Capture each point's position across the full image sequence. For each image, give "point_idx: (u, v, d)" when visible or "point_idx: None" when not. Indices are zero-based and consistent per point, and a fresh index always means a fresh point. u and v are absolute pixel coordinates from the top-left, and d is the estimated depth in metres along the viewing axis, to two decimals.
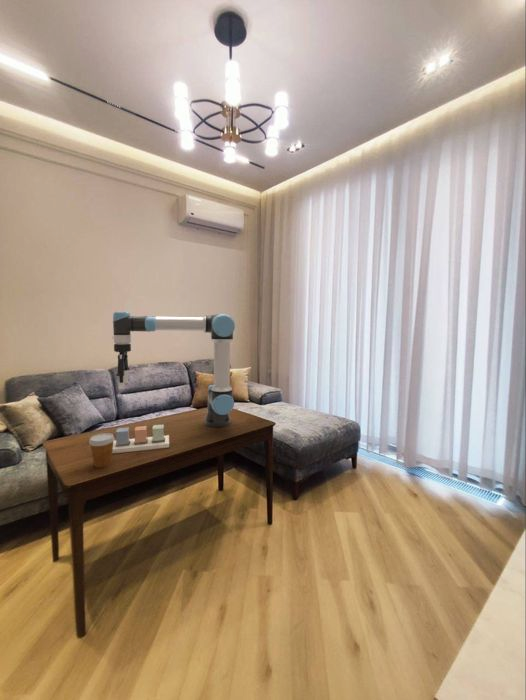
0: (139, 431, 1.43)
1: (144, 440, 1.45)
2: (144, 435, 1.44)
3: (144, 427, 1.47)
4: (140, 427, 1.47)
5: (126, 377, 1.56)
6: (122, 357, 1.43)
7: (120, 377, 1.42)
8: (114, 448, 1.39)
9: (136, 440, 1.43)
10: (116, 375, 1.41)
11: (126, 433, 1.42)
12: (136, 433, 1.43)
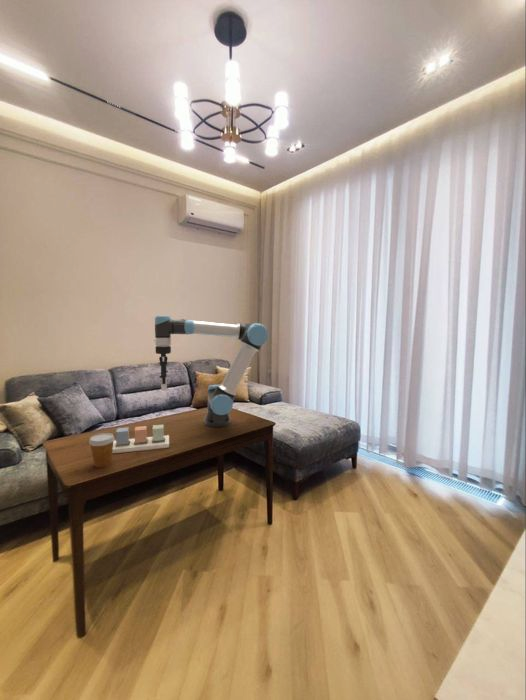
0: (139, 431, 1.43)
1: (144, 440, 1.45)
2: (144, 435, 1.44)
3: (144, 427, 1.47)
4: (140, 427, 1.47)
5: None
6: (164, 359, 1.50)
7: (163, 379, 1.50)
8: (114, 448, 1.39)
9: (136, 440, 1.43)
10: None
11: (126, 433, 1.42)
12: (136, 433, 1.43)
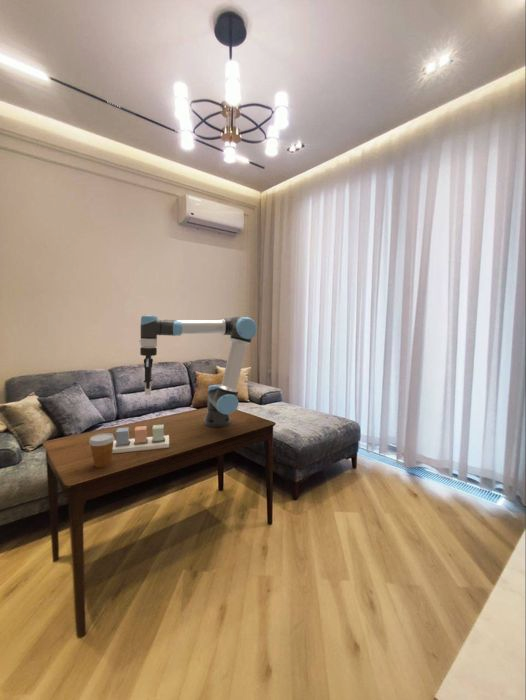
0: (139, 431, 1.43)
1: (144, 440, 1.45)
2: (144, 435, 1.44)
3: (144, 427, 1.47)
4: (140, 427, 1.47)
5: None
6: (148, 366, 1.43)
7: (147, 383, 1.47)
8: (114, 448, 1.39)
9: (136, 440, 1.43)
10: None
11: (126, 433, 1.42)
12: (136, 433, 1.43)
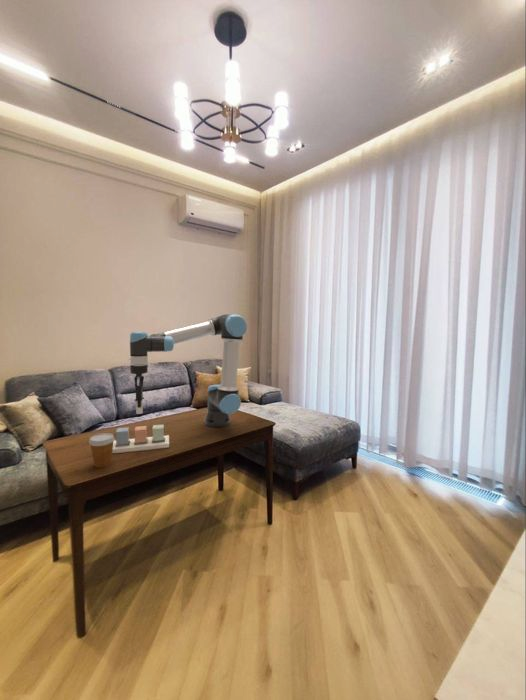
0: (139, 431, 1.43)
1: (144, 440, 1.45)
2: (144, 435, 1.44)
3: (144, 427, 1.47)
4: (140, 427, 1.47)
5: None
6: (139, 384, 1.38)
7: (138, 402, 1.42)
8: (114, 448, 1.39)
9: (136, 440, 1.43)
10: None
11: (126, 433, 1.42)
12: (136, 433, 1.43)
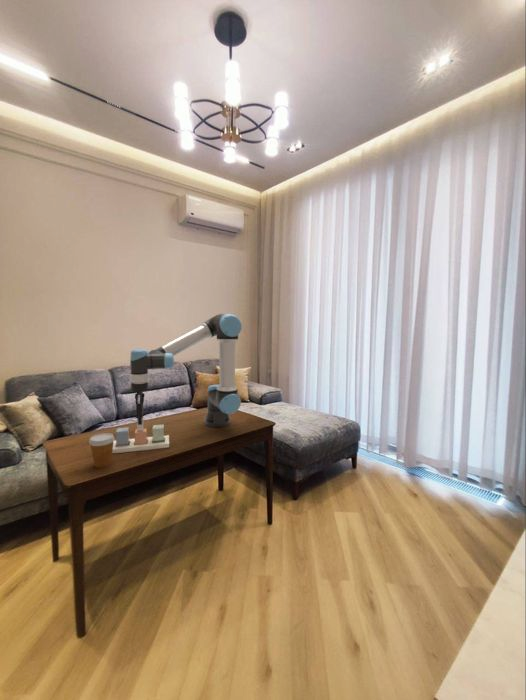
0: (139, 434, 1.44)
1: (144, 443, 1.45)
2: (144, 438, 1.44)
3: (144, 429, 1.47)
4: None
5: None
6: (140, 402, 1.39)
7: (139, 419, 1.43)
8: (114, 448, 1.39)
9: (136, 443, 1.44)
10: None
11: (126, 433, 1.42)
12: (136, 436, 1.43)
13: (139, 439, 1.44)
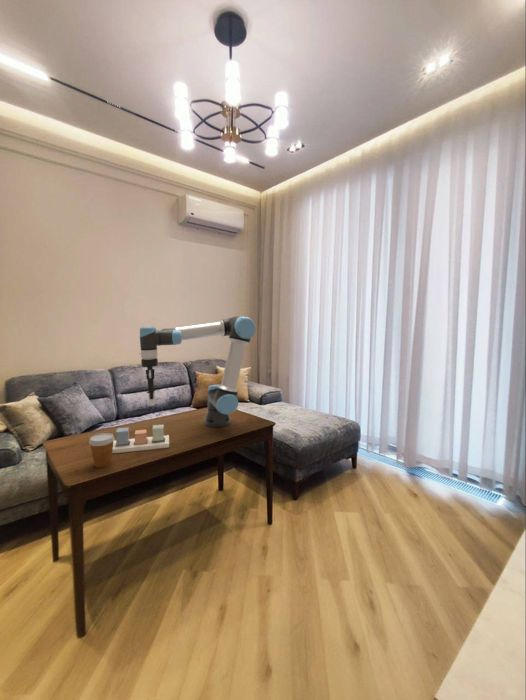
0: (139, 435, 1.44)
1: None
2: (144, 439, 1.45)
3: (144, 431, 1.47)
4: (140, 431, 1.47)
5: None
6: (151, 377, 1.44)
7: (150, 394, 1.48)
8: (114, 448, 1.39)
9: (136, 444, 1.44)
10: None
11: (126, 433, 1.42)
12: (136, 437, 1.43)
13: (139, 440, 1.44)
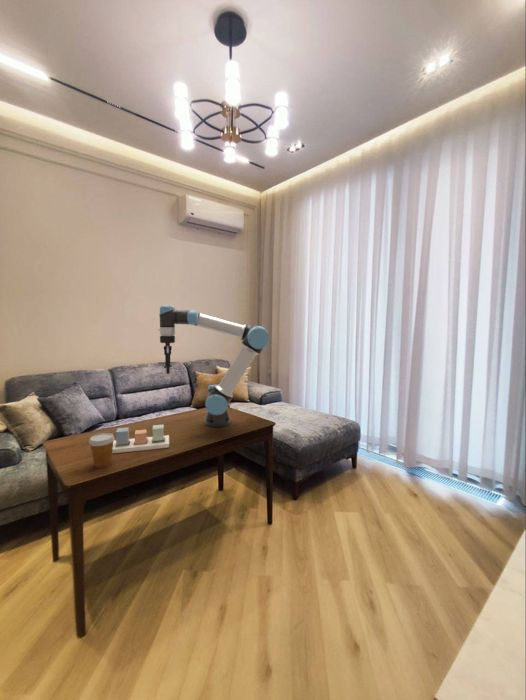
0: (139, 435, 1.44)
1: None
2: (144, 439, 1.45)
3: (144, 431, 1.47)
4: (140, 431, 1.47)
5: None
6: (169, 352, 1.55)
7: (167, 369, 1.59)
8: (114, 448, 1.39)
9: (136, 444, 1.44)
10: (164, 367, 1.59)
11: (126, 433, 1.42)
12: (136, 437, 1.43)
13: (139, 440, 1.44)
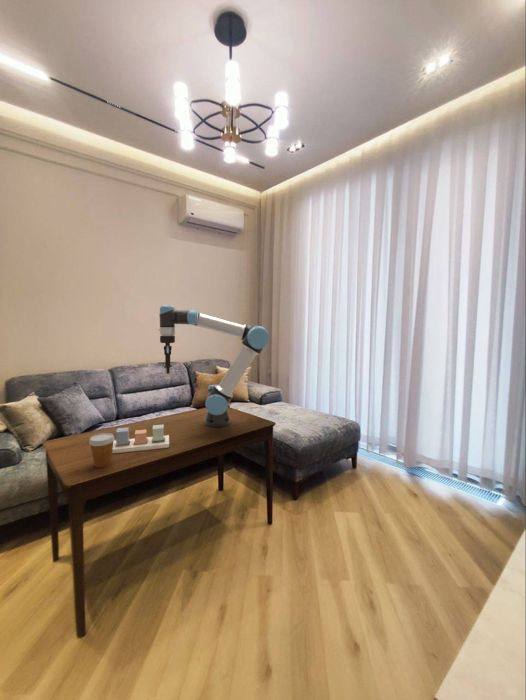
0: (139, 435, 1.44)
1: None
2: (144, 439, 1.45)
3: (144, 431, 1.47)
4: (140, 431, 1.47)
5: None
6: (169, 352, 1.55)
7: (167, 369, 1.59)
8: (114, 448, 1.39)
9: (136, 444, 1.44)
10: (164, 367, 1.59)
11: (126, 433, 1.42)
12: (136, 437, 1.43)
13: (139, 440, 1.44)
